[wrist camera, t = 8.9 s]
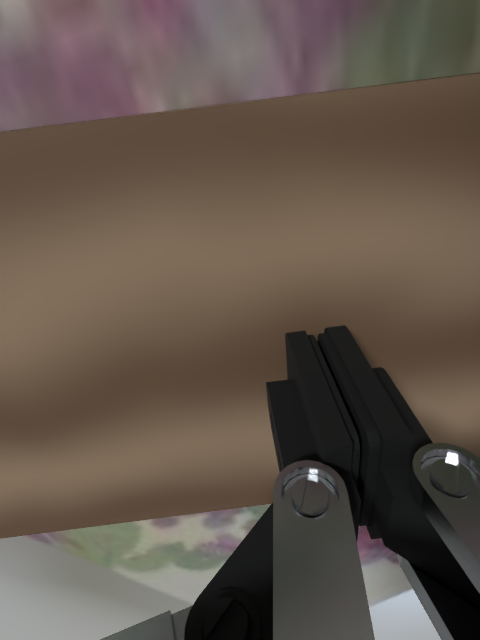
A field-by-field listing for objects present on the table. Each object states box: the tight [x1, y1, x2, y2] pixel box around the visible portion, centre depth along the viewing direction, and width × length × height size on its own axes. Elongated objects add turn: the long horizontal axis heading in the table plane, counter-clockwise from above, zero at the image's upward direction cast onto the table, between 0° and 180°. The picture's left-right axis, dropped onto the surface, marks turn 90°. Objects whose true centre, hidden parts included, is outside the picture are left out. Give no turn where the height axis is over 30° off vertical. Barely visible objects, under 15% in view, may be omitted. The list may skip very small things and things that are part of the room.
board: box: [0, 73, 480, 538], centre depth 13 cm, size 14×22×4 cm, turn 96°
